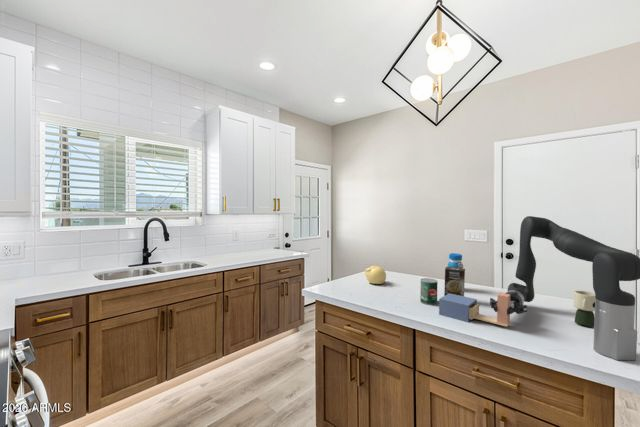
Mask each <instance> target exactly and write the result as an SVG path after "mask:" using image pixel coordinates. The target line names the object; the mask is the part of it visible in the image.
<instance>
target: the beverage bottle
mask: <svg viewBox="0 0 640 427" xmlns="http://www.w3.org/2000/svg"><path fill="white" fill-rule="evenodd" d="M448 260H449V261H448V263H447V266H446V267H454V268H463V269H464V265H463V263H462V261H463V255H462V254H461V253H453V252H452V253H451V252H450V253H449V255H448Z"/></svg>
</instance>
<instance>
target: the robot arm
mask: <svg viewBox="0 0 640 427" xmlns="http://www.w3.org/2000/svg"><path fill="white" fill-rule="evenodd" d="M533 238H540V239H544V240H549V241H551V242H552V244H553V246H554V247H555V248H556V249H557V250H558V251H559V252H561V253H563V254H565V255H567V256H569V257H571V258H574V259H578V260H582V261H585V262H591V263H592V265H591V266H592V267H591V268H592V270H591V271H592V289H593V291H594V292H593V293H595V311H594V327H593V346H592V347H593V350H594V351H595V352H597V353H598V354H600V355H603V356H604V357H605V356H606V357H608V358H611V359H613V360H615V361H637V348H638V347H637V346H638V330H637V329H635V314H636V313H635V312H636V311H635V310H636V297H635V295H634V294H632V293H631V292H627V291H625V290H623V289H621V286H620V282H632V281H638V280H640V257H639V256H638V255H636V254H635V253H632V252H628V251H625V250H623V249H618V248H615V247H612V246H609V245H607V244H604V243H601V242H599V241H597V240H595V239H593V238H590V237H588V236H586V235H584V234H581V233H579V232H577V231H574V230H571V229H570V228H569V229H568V228H566V227H562V226H560V225H559V224H558V223H555V222H554V221H553V220H551V219H548V218H545V217H539V216H534V215H533V216H531V215H529V216H526V217H524V218H523V220H522V221H521V223H520V231H519V253H518V254H519V255H518V262H517V266H516V270H515V278H516V279H517V280H520V281H522V282H523V283H524V284H525V285H523V284H520V283H518V282H511V283H510V284H509V285H508V286H507V291H506V292H504V294H510V307H509V308H508V309H507V315H510V316H511V315H512V314H514V313H515V314H517V315H521V314H524V313H528V305H527V304H524V303H525V302H526V303H531V302H532V301H533V300H534V298H535V289H534V278H535V273H536V269H537V260H536V258H535V255H534V252H533V250H532V245H531V242H532V239H533ZM489 300H490V301H489V305H490V307H491V309H493V311H494V312H495V313H497V302H498V299H497V300H496V299H495V298H493V297H492V298H491V297H490V299H489Z"/></svg>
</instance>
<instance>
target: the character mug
mask: <svg viewBox="0 0 640 427" xmlns="http://www.w3.org/2000/svg"><path fill="white" fill-rule="evenodd" d="M573 307H574V308H576V310H575V311H576V312H575V317H574V322H575V323H576V324H580V325H582V326H584V327H585V326H586V327H589V328H590V327H591V328H594V318H595V292H591V291H586V290H575V291H573Z"/></svg>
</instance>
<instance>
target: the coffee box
mask: <svg viewBox="0 0 640 427" xmlns="http://www.w3.org/2000/svg"><path fill="white" fill-rule="evenodd" d="M465 276H466V268H464V267H463V268H454V267H448V266H445V268H444V290H443V291H444V293H443V294H444V296H445V295H447V294H449V293H450V294H455V295H460V296H464V297H465V284H466V283H465V280H466V279H465Z"/></svg>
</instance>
